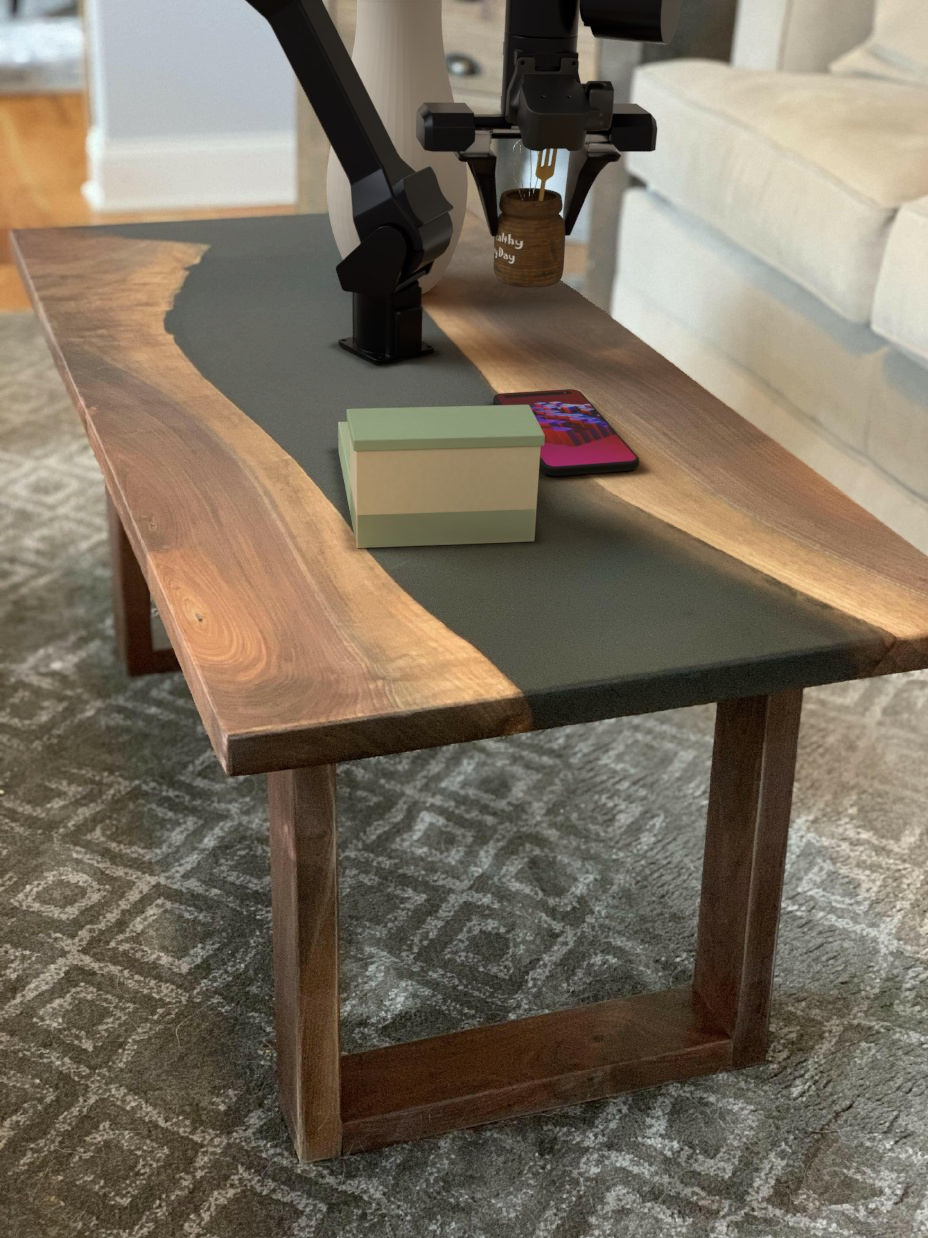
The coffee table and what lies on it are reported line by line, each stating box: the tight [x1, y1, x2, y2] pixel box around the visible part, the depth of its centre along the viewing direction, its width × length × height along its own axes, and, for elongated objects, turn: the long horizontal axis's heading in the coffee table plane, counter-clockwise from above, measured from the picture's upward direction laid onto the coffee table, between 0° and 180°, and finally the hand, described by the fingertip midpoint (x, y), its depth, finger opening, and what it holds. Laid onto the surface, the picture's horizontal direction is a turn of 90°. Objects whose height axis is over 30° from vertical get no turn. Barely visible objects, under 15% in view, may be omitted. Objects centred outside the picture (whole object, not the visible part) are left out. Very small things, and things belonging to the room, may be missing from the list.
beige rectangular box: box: [337, 405, 545, 549], centre depth 99 cm, size 16×12×8 cm
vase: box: [326, 0, 469, 295], centre depth 135 cm, size 14×14×30 cm
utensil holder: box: [493, 139, 566, 289], centre depth 116 cm, size 6×6×12 cm
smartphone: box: [492, 388, 640, 477], centre depth 111 cm, size 8×1×15 cm
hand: (529, 234), depth 117 cm, fingers closed on utensil holder, 6 cm apart
